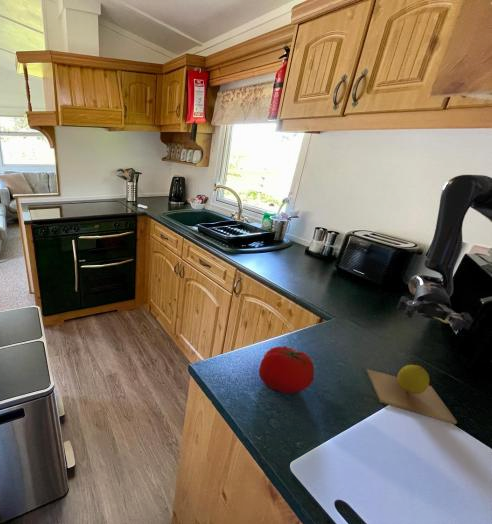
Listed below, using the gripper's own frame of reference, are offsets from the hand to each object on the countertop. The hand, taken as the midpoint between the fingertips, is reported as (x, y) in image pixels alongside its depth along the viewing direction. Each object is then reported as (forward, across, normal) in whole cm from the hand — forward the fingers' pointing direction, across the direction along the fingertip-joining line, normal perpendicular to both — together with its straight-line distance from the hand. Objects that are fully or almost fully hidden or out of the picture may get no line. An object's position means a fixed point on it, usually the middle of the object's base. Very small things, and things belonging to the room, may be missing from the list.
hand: (433, 320), depth 74 cm
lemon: (+11, 0, +16) cm, 20 cm away
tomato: (+31, -24, +17) cm, 43 cm away
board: (+11, 0, +17) cm, 20 cm away
